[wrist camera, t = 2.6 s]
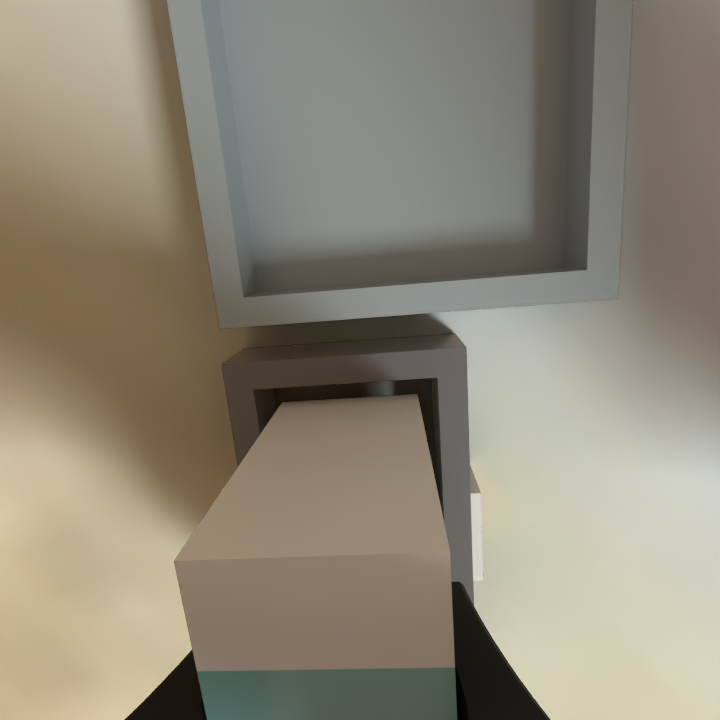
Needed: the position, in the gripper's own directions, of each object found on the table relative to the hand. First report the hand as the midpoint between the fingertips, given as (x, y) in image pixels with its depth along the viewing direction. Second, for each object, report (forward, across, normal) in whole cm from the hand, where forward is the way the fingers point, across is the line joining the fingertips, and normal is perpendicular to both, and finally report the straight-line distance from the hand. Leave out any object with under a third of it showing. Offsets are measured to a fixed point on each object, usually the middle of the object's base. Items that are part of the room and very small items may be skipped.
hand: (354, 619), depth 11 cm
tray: (+5, -2, -14) cm, 15 cm away
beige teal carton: (+3, 0, 0) cm, 3 cm away
